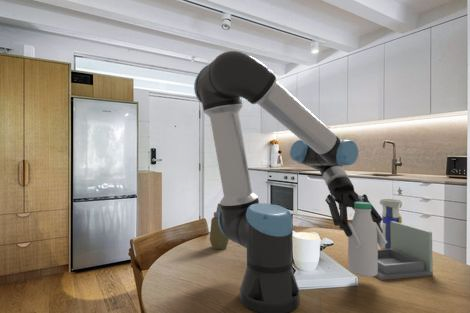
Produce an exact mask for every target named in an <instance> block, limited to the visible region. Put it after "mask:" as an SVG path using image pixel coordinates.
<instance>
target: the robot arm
mask: <svg viewBox="0 0 470 313" xmlns="http://www.w3.org/2000/svg"><path fill="white" fill-rule="evenodd" d="M193 89H194V94H195V97H196V98H197V101H199V103H201V105H202V110H203V113H204V114H205V115H207V116H208V117H209V119H210V126H211V130H212V136H213V142H214V147H215V153H216V160H217V165H218V171H219V176H220V181H221V182H220V183H221V187H222V192H223V197H222V198H221V200H220V201H219V203H220V206H221V211H220V213H219V215H218V225H219V228H220V230H221V232H222V233H223V234H224V235H225V236H226V237H227V238H228V239H229V241H231V242H232V243H236V244H238V245H239V246H242V247H243V248H245V249H246V269H245V271H244V275H243V278H242V281H241V283H240V288H239V300H240V302H241V303H242V305H244V306H245V308H248V309H249V310H250V311H253V312H257V313H289V312H292V311H294V310H295V309H297V308H298V307H299V305H300V302H301V300H300V298H301V297H300V288H299V286H298V282H297V280H296V276H295V273H294V269H293V230H294V225H293V219H292V218H293V217H292V213H291V212H290V210H289V209H287V208H285V207H284V206H281V205H277V204H272V203H265V202H264V203H260V200H259V197H258V194H256V193H255V192H253V190H252V184H251V177H250V172H249V167H248V160H247V159H248V158H247V154H246V148H245V142H244V137H243V130H242V125H241V119H240V118H241V117H240V111H241V110H242V107H243V106H244V105H243V99H245V100H246V101H247V102H249V103H250V104H251V105H256V104H257V105H258V106H260V107H261V108H262V109H263V110H264V111H266V112H267V113H268V114H269V115H270V116H272V117H273V118H275V120H276V121H277V122H279V123H280V124H281V125H283V127H285V128H286V129H288V130H289V131H290V132H291V133H292V134H294V135H295V136H296V137H297V138H298V139H299V140H296V141H294V143H293V144H292V145H291V147H290V150H289V156H290V158H291V160H293V161H295V162H297V163H298V164H301V165H304V166H306V167H308V168H309V167H310V168H312V169H315V170H317V171H319V172H320V174H321V176H322V179H323V180H324V182H325V185H326V186H327V189H328V191H329V193H330V194H328V195H327V196H326V198H325V202H326V203H327V206H328V208H329V211H330V215H331V219H332V221H333V222H332V223H333V224H334V226H335V227H339V229H341V230H343V232H344V235H345V236H346V237H349V238H350V240H351V243H352V245H353V247H354V249H357V248H358V247H359V246H360V245H361V242H360V240H359V238H358V236H357V234H356V232H355V230H354V228H353V226H352V224H351V222H349V220H348V219H349V218H348V208H351V209H353V210H354V202H368V203H371V201H370V200H369V198H368V196H367V195H366V193H365V194H362V195H359V194H358V193H357V192H356V190H355V188H354V185H353V183H352V181H351V180H350V178H349V176H348V174H347V172H346V170H345V168H344V167H343V166H352V165H353V164H355V163H356V162H357V159H358V157H359V148H358V145H357V144H356V142H355V141H353V140H351V139H341V138H339V136H337V135H336V134H335V133H334V132H333V131H332V130H331V129H329V127H327V126H326V125H325V124H324V123H323V122H322V121H321V120H320V119H319V118H317V117H316V116H315V114H313V113H312V112H311V111H310V110H309V109H308V108H307V107H305V106H304V105H303V104H302V102H300V101H299V100H298V99H297V98H296V97H295V96H293V94H292V93H290V92H289V91H288V90H287V89H286V88H285V87H284V86H283V85H282V84H280V83H279V82H278V81H277V74H275V72H274V71H272V70H271V69H270V68H269V67H268V66H267V65H266V64H264V63H263V62H261V61H260V60H259V59H257V58H255V57H253V56H251V55H250V54H247V53H244V52H242V51H237V50H229V51H225V52H222V53H221V54H219V55H218V56H216V57H215V58H214V60H212V61H211V62H210V63H209V64H207V65H206V66H204V67H202V69H201V70H200V71H199V72H198V74H197V75H196V77H195V81H194V86H193ZM337 204H338V206H337ZM371 206H372V207H371V217H372V220H373V222H374V224H375V227H376V230H377V239H378V246H379V248H381V247H383V246H384V245H385V244H386V243H387V241H386V239H385V237H384V236H383V234H382V233H383V231H382V229H381V226H380V224H381V223H382V215H381V214H380V213H379V212H378V211H377V209H376V208H375V206H374V205H373V204H372V203H371Z"/></svg>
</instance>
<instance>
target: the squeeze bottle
mask: <svg viewBox="0 0 470 313" xmlns="http://www.w3.org/2000/svg"><path fill="white" fill-rule="evenodd" d="M220 211H221V206H220V202H219V203H217V207H216V210H215V211H214V212H213V217H212V218H211V219H210V229H209V230H210V233H209V241H210V245H211V247H212V249H213V250H224V249H227V247H228V244H229V241H230V239H228V238H227V237H226V236H225V235H224V234H223V233H222V232H221V230H220V228H219V225H218V215H219V213H220Z"/></svg>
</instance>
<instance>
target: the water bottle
mask: <svg viewBox="0 0 470 313" xmlns="http://www.w3.org/2000/svg"><path fill="white" fill-rule="evenodd" d="M402 191H403V189H401V187H398V189H397V192H398V196H400V195H401V196H403V194H402ZM379 205H381V206H382V212H381V213H380V216H381V218H382V221H381V223H380V224H381V226H380V227H381V229H382V231H383V233H382V234H383V236H384V237H385V239H386V241H387V243H386V244H385V245H384V246H383V247H380V249H389V248H391V227H390V221H394V222H397V223H401V224H403V222H402V221H403V219H402V215H401V214H400V209H401V208H402V207H403V206H402V205H403V202H402V200H399V199H392V198H380V201H379Z"/></svg>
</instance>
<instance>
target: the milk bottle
mask: <svg viewBox="0 0 470 313" xmlns="http://www.w3.org/2000/svg"><path fill="white" fill-rule="evenodd" d="M371 204H372V203H371V202H370V203H368V202H354V209H353V210H354V214H353V217H352V219H351V222H350V223H351V224H352V226H353V228H354V230H355V232H356V234H357V236H358V238H359V240H360V242H361V245H360V246H359V247H358V248H357V249H354V247H353V245H352V243H351V240H350V238H349V237H348V238H347V239H348V240H347V243H348V244H347V259H348V260H347V265H348V271H349V272H350V273H351V274H353V275H355V276H360V277H366V278H367V277H369V278H370V277H372V278H373V277H376V275H377V273H378V249H379V248H378V246H379V244H378V239H377V230H376V227H375V224H374V222H373V220H372V217H371V207H372V206H373V205H372V206H371Z"/></svg>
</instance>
